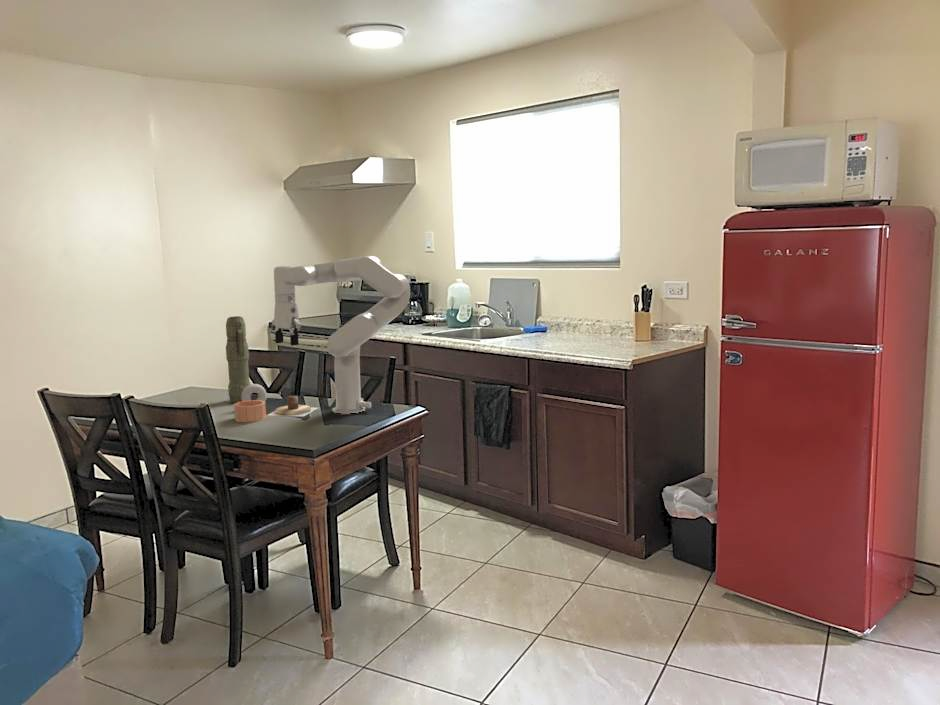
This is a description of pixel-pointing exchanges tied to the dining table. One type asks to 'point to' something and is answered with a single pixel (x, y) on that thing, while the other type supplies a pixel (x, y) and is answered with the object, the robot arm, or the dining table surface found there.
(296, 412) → the lid
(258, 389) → the donut
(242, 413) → the bowl
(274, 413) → the mat
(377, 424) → the dining table surface
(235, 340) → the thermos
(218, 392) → the dining table surface
